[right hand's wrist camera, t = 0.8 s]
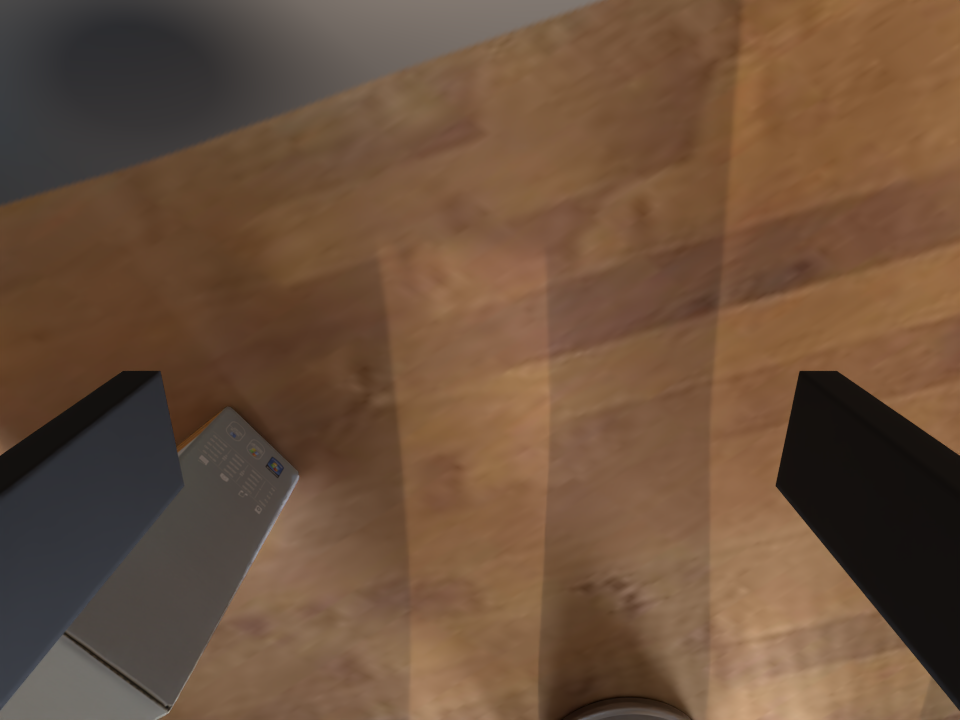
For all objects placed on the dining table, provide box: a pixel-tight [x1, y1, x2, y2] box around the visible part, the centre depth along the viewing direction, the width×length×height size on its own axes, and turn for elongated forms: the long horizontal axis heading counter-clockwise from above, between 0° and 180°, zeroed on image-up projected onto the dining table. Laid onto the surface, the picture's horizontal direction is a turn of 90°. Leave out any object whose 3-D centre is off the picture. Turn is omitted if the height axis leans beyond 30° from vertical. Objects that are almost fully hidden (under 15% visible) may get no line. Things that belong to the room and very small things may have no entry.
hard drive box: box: [0, 407, 299, 720], centre depth 37 cm, size 16×8×20 cm, turn 128°
